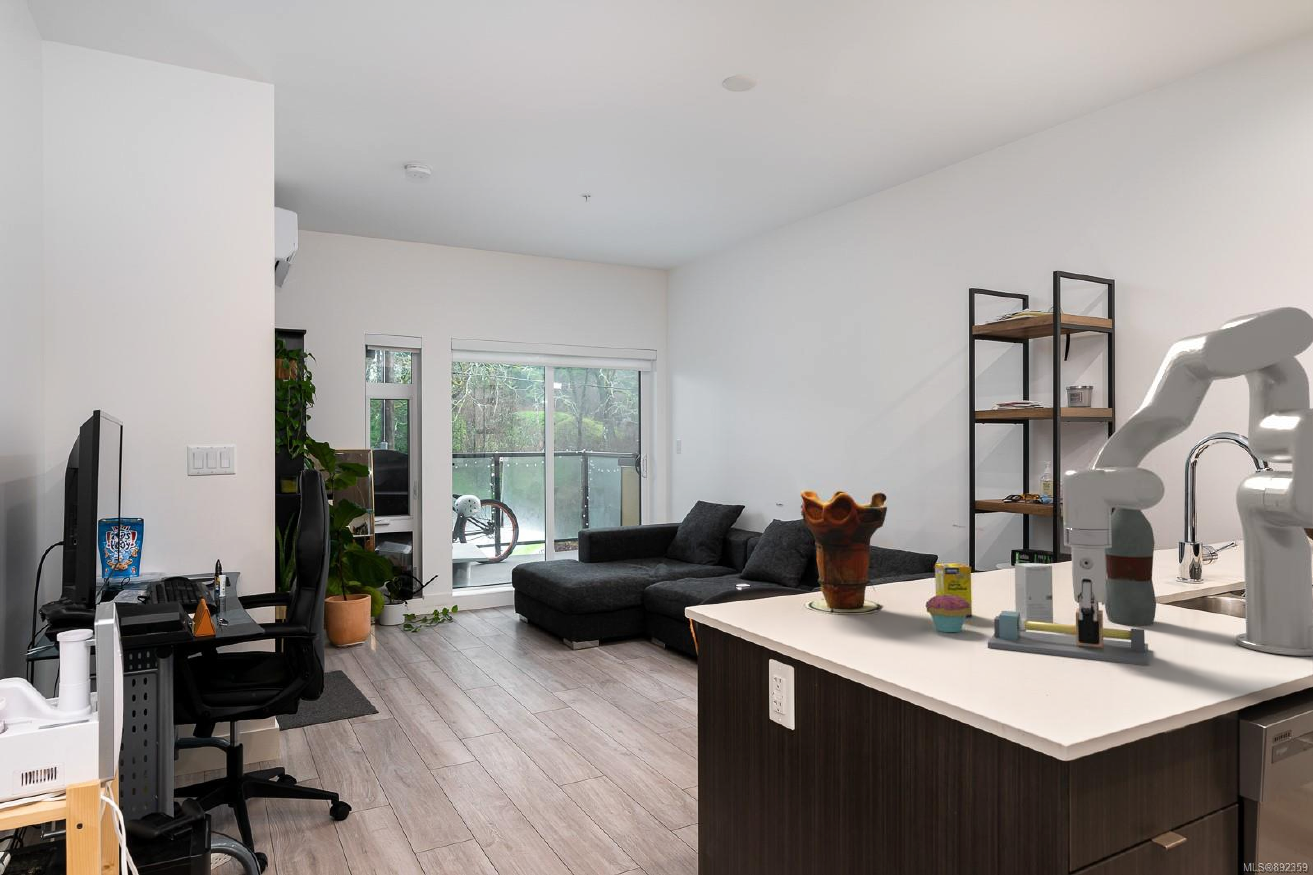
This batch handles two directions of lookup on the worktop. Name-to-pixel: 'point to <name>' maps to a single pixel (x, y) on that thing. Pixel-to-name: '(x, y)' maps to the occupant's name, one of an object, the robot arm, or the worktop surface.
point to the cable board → (1066, 640)
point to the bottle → (1130, 569)
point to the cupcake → (948, 610)
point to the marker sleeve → (1100, 619)
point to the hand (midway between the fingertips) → (1089, 638)
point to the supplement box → (955, 581)
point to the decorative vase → (843, 549)
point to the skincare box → (1034, 592)
